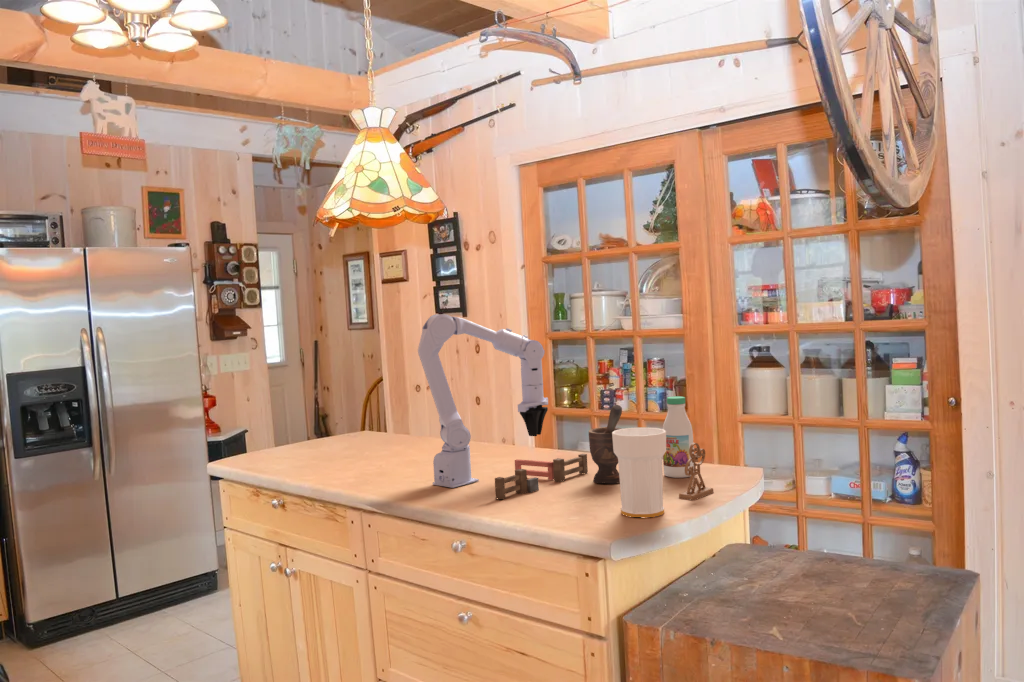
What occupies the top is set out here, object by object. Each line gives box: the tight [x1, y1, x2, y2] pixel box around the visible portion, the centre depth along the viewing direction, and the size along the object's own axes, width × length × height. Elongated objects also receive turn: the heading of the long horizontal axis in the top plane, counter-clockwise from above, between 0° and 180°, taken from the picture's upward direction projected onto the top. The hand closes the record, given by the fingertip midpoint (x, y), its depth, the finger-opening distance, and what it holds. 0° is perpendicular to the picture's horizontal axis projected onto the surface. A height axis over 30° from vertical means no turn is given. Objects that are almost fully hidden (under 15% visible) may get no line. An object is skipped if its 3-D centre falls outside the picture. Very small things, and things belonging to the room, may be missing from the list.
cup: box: [612, 426, 666, 518], centre depth 170 cm, size 11×11×17 cm
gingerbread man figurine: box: [678, 442, 714, 501], centre depth 182 cm, size 9×4×12 cm, turn 136°
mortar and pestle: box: [588, 404, 623, 485], centre depth 199 cm, size 12×9×20 cm
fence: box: [494, 453, 589, 500], centre depth 200 cm, size 34×3×6 cm, turn 137°
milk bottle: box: [662, 396, 695, 479], centre depth 203 cm, size 8×8×20 cm
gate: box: [514, 459, 554, 481], centre depth 209 cm, size 11×1×4 cm, turn 57°
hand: (535, 435), depth 214 cm, fingers closed
